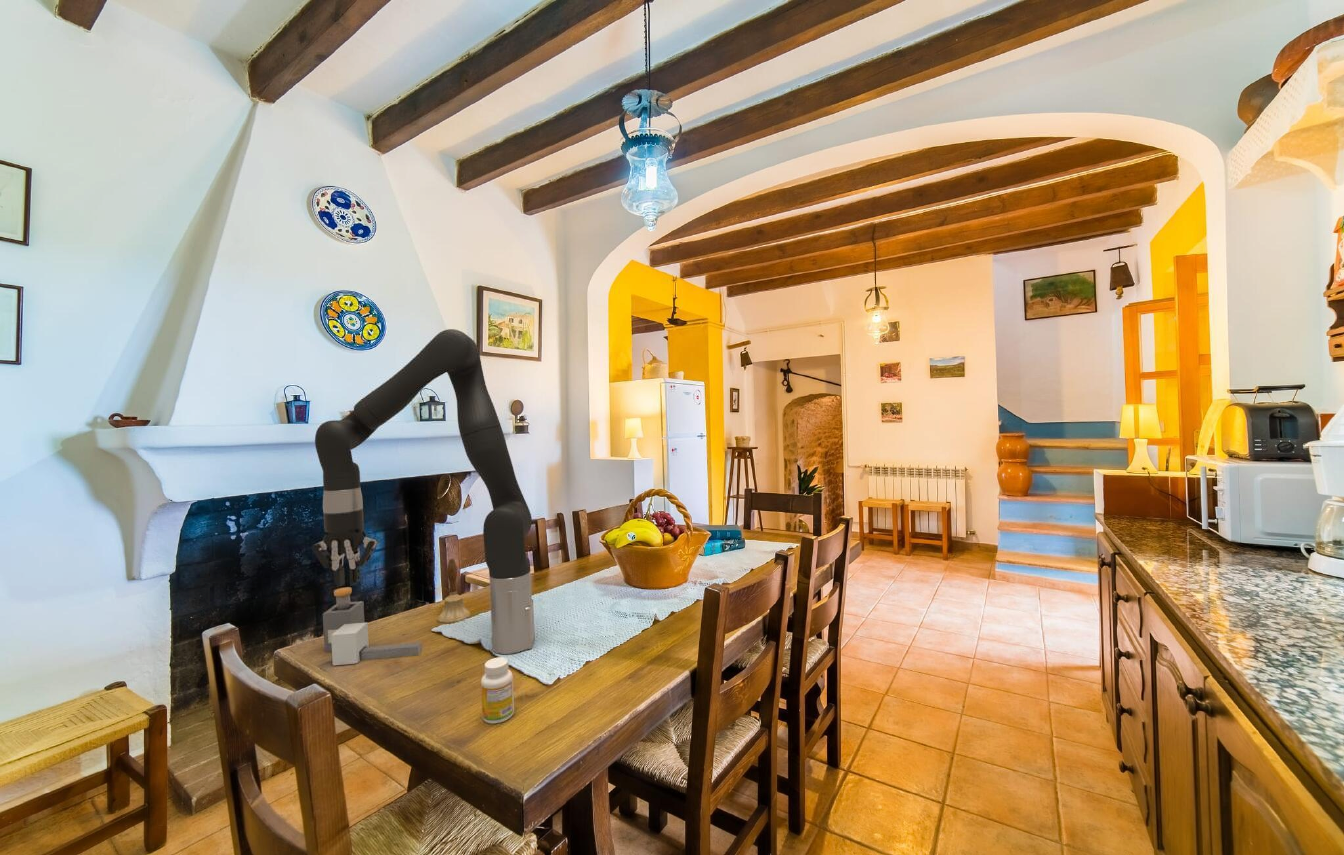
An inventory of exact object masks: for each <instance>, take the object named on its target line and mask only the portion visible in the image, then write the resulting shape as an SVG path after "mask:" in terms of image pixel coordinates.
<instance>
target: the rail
mask: <svg viewBox="0 0 1344 855" xmlns="http://www.w3.org/2000/svg"><path fill="white" fill-rule="evenodd" d="M422 644H423V643H422V641H416V642H404V643H394V644H384V645H383V644H382V645H371V646H369V647H363V648H362V649H361V650H360V651H359V659H360V661H368V660H380V659H381V660H382V659H390V658H391V659H392V658H401V657H413V656H419V655H420V654H421V652H422V651H423V647H422V646H423V645H422Z"/></svg>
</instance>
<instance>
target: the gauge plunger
mask: <svg viewBox="0 0 1344 855" xmlns="http://www.w3.org/2000/svg"><path fill="white" fill-rule="evenodd" d="M352 592H353V590H352V587H351V586H350V587H349V586H347V587H340V588H337V589H334V590H333V595H334V597H336V599H335V600H336V604H337V611H338V610H349V609H350V608H351V606H350V602H351V594H352Z"/></svg>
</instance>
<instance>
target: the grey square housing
mask: <svg viewBox="0 0 1344 855" xmlns="http://www.w3.org/2000/svg"><path fill="white" fill-rule="evenodd" d="M364 604H365V603H364V601H363V600H361V601H350V606H351V608H350V609H349V610H338V611H337V603H336V604H334V605H333V606H331V607H330V608H329V609H328V610H326V611H325V612H323V613H322V625H323V628H322V629H323V643H324V644H323V645H324V647H323V648H324V653H326V652H332V642H331V635H332V634H333V633H334V632H336V631H337V630H338V629H339V628H341V627H342V626H343V625H344V624H354V623H366V622H365V605H364Z"/></svg>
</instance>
